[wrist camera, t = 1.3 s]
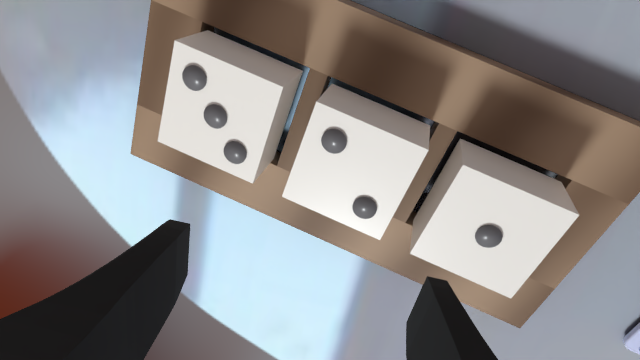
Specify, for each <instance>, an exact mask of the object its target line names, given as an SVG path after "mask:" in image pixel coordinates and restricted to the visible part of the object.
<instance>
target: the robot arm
mask: <svg viewBox="0 0 640 360" xmlns="http://www.w3.org/2000/svg"><path fill="white" fill-rule="evenodd" d="M189 236H190V224H188V223H184V222H179V221H175V220H168V221H167V222H165V223H164V224H162V225H161V226H160V227H158V228H157V229H156V230H154V231H153V232H152V233H150V234H149V235H148V236H146V237H145V238H144V239H142V240H141V241H139V242H138V243H137V244H135V245H134V246H132V247H131V248H130V249H128V250H127V251H125V252H124V253H122V254H121V255H119V256H118V257H116V258H115V259H114V260H112V261H111V262H109V263H108V264H106V265H104V266H103V267H101V268H99V269H98V270H96V271H95V272H93V273H92V274H90V275H88V276H86V277H85V278H83V279H81V280H80V281H78V282H76V283H74V284H73V285H71V286H69V287H67V288H65V289H64V290H62V291H60V292H58V293H56V294H54V295H52V296H50V297H48V298H46V299H44V300H42V301H40V302H38V303H36V304H33V305H31V306H29V307H27V308H24V309H22V310H20V311H18V312H15V313H13V314H11V315H9V316H6V317H4V318H2V319H0V360H144V358H145V356H146V354H147V352H148V351H149V349H150V347H151V346H152V344H153V342H154V340H155V339H156V337H157V335H158V334H159V332H160V330H161V328H162V326H163V325H164V323H165V321H166V319H167V318H168V316H169V314H170V312H171V311H172V309H173V307H174V305H175V303H176V301H177V298H178V296H179V294H180V291H181V289H182V287H183V284H184V282H185V279H186V277H187V272H188V254H189ZM623 343H624V345H625V346H626V348H627V349H629V350H631V351H633V352H635V353H637V354H640V323H639V324H638V325H636V326H635V327H634V328H633V329H632V330H631V331H630V332H629V333H628V334H627V335H626V336H625V337H624V338H623ZM406 356H407V360H498V359H497V358H496V356H495V355H494V353H493V352H492V351H491V349H490V348H489V346H488V345H487V343H486V342H485V340H484V339H483V337H482V336H481V334H480V333H479V331H478V330H477V328H476V327H475V325H474V324H473V322H472V320H471V319H470V317H469V316H468V314H467V312H466V311H465V309H464V308H463V306H462V304H461V303H460V301H459V299H458V298H457V296H456V294H455V293H454V291H453V289H452V288H451V286H450V285H449V283H448V281H447V280H442V279H438V278H433V277H429V276H427V277H426V280H425V282H424V284H423V286H422V289H421V291H420V293H419V296H418V298H417V300H416V302H415V305H414V307H413V309H412V311H411V314H410V316H409V318H408V320H407V328H406Z"/></svg>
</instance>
